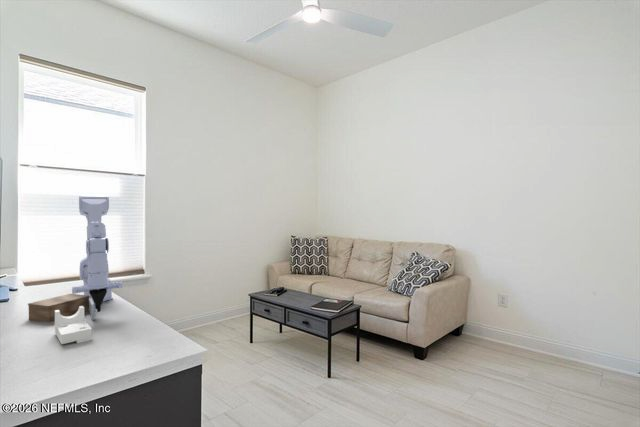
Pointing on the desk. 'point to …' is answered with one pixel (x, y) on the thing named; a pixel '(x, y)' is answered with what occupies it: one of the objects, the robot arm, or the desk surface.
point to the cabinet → (57, 307)
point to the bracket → (72, 327)
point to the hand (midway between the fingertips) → (98, 310)
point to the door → (92, 309)
